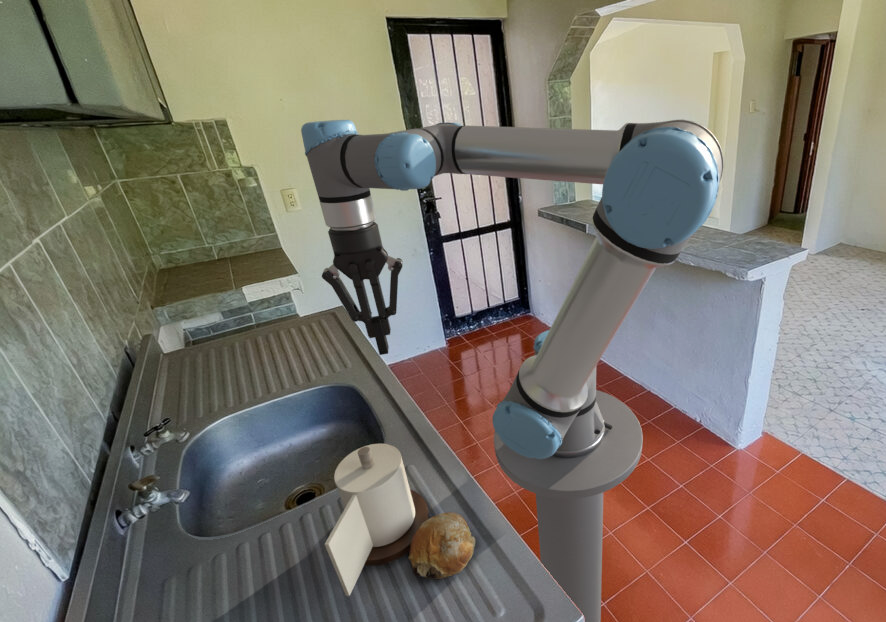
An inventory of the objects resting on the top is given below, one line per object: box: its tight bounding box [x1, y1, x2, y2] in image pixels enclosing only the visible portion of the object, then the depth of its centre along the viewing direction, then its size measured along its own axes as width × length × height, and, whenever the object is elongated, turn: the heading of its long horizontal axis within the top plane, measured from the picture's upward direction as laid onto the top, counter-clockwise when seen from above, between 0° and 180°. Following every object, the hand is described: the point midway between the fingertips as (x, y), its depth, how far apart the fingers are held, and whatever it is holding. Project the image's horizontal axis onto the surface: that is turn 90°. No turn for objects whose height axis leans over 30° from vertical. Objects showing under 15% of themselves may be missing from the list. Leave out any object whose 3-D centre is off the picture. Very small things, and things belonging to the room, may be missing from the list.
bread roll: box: [407, 511, 476, 580], centre depth 72 cm, size 10×10×8 cm
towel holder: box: [358, 446, 430, 567], centre depth 74 cm, size 14×14×18 cm
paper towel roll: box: [324, 443, 415, 597], centre depth 71 cm, size 18×10×12 cm, turn 159°
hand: (384, 350), depth 83 cm, fingers closed
